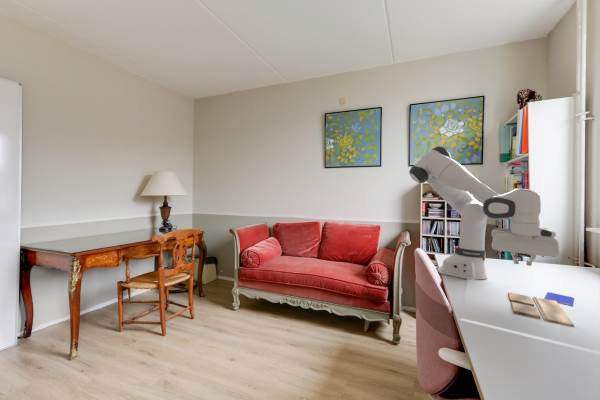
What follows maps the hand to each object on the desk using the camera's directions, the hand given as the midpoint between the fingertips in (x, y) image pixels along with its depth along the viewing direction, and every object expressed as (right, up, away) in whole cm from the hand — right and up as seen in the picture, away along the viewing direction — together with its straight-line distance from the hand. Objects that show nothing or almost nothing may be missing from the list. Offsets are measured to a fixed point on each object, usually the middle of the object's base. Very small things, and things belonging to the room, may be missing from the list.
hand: (522, 264), depth 104 cm
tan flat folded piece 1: (-7, -15, -10) cm, 19 cm away
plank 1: (-1, -15, 0) cm, 15 cm away
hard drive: (+17, -16, +2) cm, 23 cm away
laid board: (+3, -15, -9) cm, 18 cm away
